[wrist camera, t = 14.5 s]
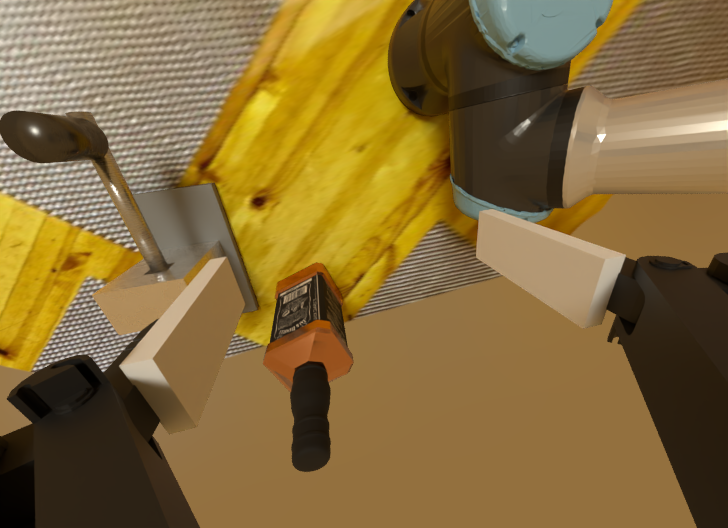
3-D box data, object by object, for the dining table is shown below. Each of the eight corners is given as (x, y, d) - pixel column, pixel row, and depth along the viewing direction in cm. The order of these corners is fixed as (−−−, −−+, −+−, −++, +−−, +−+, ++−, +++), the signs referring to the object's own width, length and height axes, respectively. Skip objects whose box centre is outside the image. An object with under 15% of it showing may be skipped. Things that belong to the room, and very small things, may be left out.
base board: (118, 196, 40) (112, 198, 38) (214, 182, 41) (210, 183, 40) (184, 321, 50) (181, 325, 49) (258, 305, 52) (257, 310, 51)
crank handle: (65, 116, 28) (-19, 106, 21) (106, 112, 28) (38, 100, 21) (155, 281, 37) (118, 314, 30) (185, 275, 37) (155, 306, 30)
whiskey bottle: (300, 319, 55) (291, 506, 27) (273, 284, 51) (229, 463, 22) (343, 297, 55) (381, 461, 26) (320, 260, 50) (337, 409, 22)
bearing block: (155, 251, 43) (91, 295, 30) (218, 240, 44) (183, 278, 31) (171, 282, 45) (119, 335, 33) (230, 271, 46) (202, 318, 34)
